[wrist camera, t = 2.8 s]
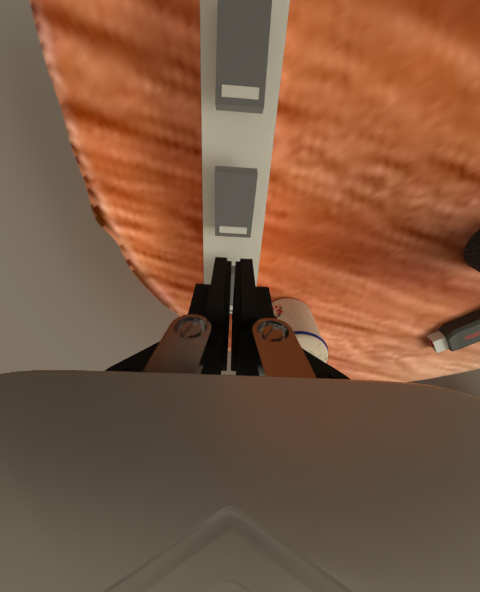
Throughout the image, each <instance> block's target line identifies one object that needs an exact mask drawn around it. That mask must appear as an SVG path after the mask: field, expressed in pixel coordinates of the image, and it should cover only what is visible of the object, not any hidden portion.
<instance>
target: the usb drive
mask: <svg viewBox="0 0 480 592" xmlns="http://www.w3.org/2000/svg"><path fill="white" fill-rule="evenodd" d="M427 337H428V340H429V342H430V345H431V347H432V348H433V349H434V350H435V352H436V353H439V352H441V351H444V350H447V349H450V350H451V351H455V350H458V349H461V348H463V347H466V346H469V345H471V344H474V343H476V342H479V341H480V309H479V310H477V311H475V312H472V313H470V314H468V315H465V316H463V317H460V318H458V319H456V320H453V321H451V322H449V323H446V324H445V325H443V326H442V327H441V328H440V329H439V331H437V332H434V333H432V334H429V335H427Z"/></svg>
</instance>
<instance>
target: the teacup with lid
mask: <svg viewBox="0 0 480 592" xmlns="http://www.w3.org/2000/svg"><path fill="white" fill-rule="evenodd" d="M272 307H273V312H274V317H275V319H279V320H282V321H284V322H286V323H287V324H288V325H290V327H291V328H292V330H293V332H294V334H295V336H296V338H297V340H298V342H299V344H300V346H301V348H303V349H304V350H306V351H307V352H309V353H311V354H312V355H314V356H315V357H317V358H319V359H320V360H322V361H323V362H325V363H326V362H327V359H328V347H327V345H326V343H325V342H324V340H323V339H322V337H321V335H320V332H319V330H318V327H317V325H316V323H315V320H314V318H313V315H312V313H311V310H310V309H309V307H308V306H307V305H306V304H305V303H303V302H302V301H300V300H297V299H292V298H284V299H279V300H276V301H274V302H272Z"/></svg>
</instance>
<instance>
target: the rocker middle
mask: <svg viewBox="0 0 480 592" xmlns="http://www.w3.org/2000/svg"><path fill="white" fill-rule="evenodd" d="M214 176H215V236H228V237H245V238H251V229H252V220H253V212H254V203H255V194H256V185H257V177H258V172H257V168H243V167H229V166H215V172H214Z"/></svg>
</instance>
